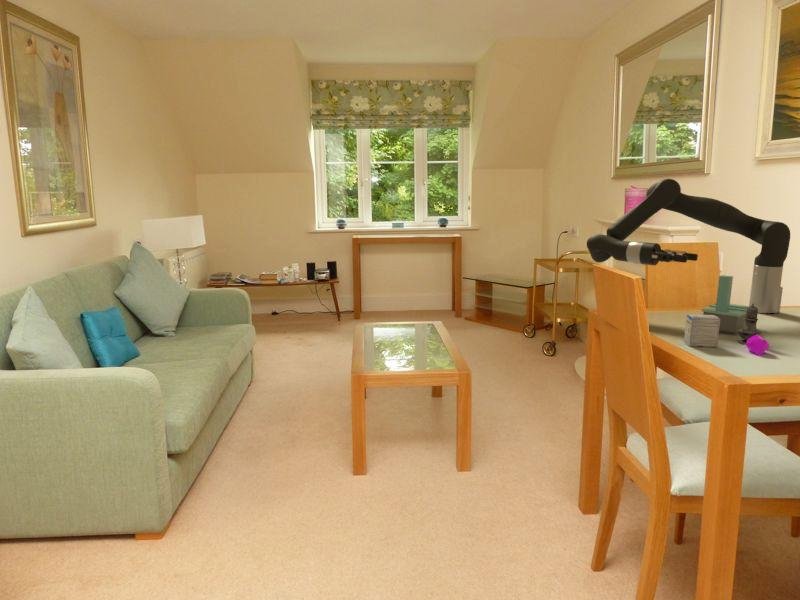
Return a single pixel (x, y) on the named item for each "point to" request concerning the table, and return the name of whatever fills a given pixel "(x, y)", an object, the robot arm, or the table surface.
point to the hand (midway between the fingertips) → (692, 258)
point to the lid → (725, 300)
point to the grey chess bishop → (749, 325)
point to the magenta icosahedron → (757, 344)
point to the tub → (729, 323)
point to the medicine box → (702, 330)
